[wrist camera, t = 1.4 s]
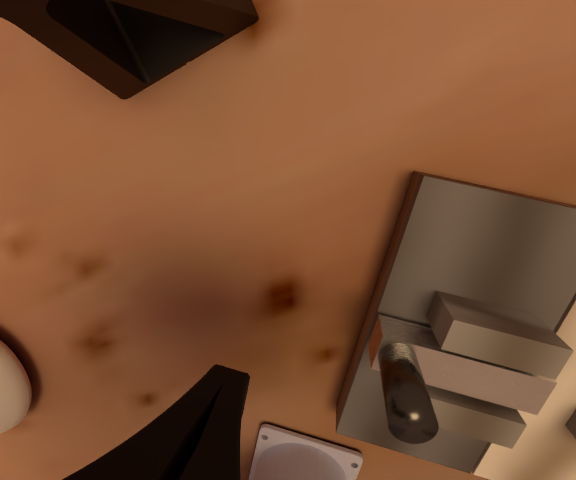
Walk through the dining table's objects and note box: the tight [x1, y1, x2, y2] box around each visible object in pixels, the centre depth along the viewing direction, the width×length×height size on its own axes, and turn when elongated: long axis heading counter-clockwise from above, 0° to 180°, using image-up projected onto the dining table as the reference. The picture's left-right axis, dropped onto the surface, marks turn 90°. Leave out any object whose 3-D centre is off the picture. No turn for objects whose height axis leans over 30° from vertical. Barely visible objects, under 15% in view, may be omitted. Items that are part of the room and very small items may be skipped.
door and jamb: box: [336, 171, 576, 480], centre depth 17 cm, size 18×17×5 cm
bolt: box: [368, 314, 557, 444], centre depth 14 cm, size 8×2×6 cm, turn 79°
